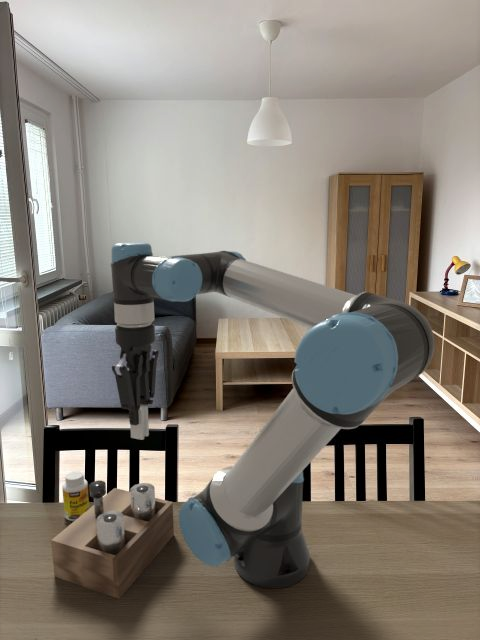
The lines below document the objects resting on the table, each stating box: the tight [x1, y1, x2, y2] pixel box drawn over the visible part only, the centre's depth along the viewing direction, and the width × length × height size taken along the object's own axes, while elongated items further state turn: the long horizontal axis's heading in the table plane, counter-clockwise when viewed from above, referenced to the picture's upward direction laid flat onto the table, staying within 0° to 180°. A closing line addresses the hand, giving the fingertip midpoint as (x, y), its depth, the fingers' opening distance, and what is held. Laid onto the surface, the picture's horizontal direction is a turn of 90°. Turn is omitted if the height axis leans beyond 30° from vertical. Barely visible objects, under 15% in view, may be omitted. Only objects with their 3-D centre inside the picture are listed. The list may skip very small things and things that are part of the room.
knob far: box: [129, 482, 156, 522], centre depth 106 cm, size 5×5×9 cm
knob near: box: [96, 511, 125, 556], centre depth 96 cm, size 5×5×9 cm
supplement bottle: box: [62, 470, 90, 522], centre depth 117 cm, size 6×6×10 cm
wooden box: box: [50, 487, 175, 599], centre depth 103 cm, size 15×20×8 cm
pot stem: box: [88, 480, 107, 518], centre depth 103 cm, size 3×3×7 cm
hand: (139, 436), depth 103 cm, fingers closed
